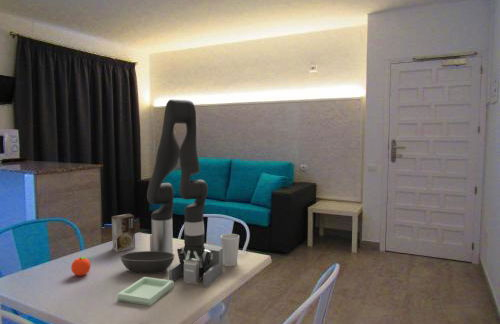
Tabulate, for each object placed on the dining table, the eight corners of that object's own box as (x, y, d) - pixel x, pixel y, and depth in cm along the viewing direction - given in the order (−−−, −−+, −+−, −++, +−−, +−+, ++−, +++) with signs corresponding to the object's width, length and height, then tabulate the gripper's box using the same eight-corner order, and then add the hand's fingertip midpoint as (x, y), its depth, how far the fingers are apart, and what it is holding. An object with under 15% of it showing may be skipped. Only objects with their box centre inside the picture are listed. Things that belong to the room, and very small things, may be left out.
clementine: (85, 269, 153) (85, 252, 152) (96, 273, 149) (96, 255, 149) (67, 276, 146) (67, 258, 146) (78, 279, 143) (78, 261, 142)
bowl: (171, 276, 146) (171, 261, 146) (115, 276, 147) (115, 260, 146) (177, 265, 158) (177, 251, 158) (126, 265, 159) (125, 250, 158)
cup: (240, 260, 164) (240, 234, 163) (237, 267, 156) (237, 239, 155) (222, 260, 165) (222, 233, 164) (219, 266, 157) (219, 238, 156)
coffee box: (130, 245, 186) (129, 213, 185) (135, 248, 181) (134, 215, 180) (112, 248, 180) (111, 215, 179) (116, 252, 175) (116, 218, 174)
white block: (183, 282, 140) (182, 263, 140) (193, 274, 149) (193, 256, 148) (195, 284, 139) (194, 264, 138) (204, 275, 147) (204, 257, 146)
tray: (117, 300, 125) (117, 293, 125) (144, 282, 140) (144, 276, 140) (150, 305, 122) (149, 298, 121) (173, 287, 136) (173, 280, 136)
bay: (168, 282, 141) (168, 256, 140) (188, 267, 156) (188, 244, 155) (206, 287, 136) (206, 261, 135) (222, 272, 151) (222, 247, 150)
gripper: (172, 233, 141) (173, 276, 142) (207, 236, 137) (207, 281, 138) (182, 228, 148) (182, 269, 150) (215, 231, 144) (215, 274, 145)
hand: (194, 275), depth 144 cm, fingers closed on white block, 5 cm apart
